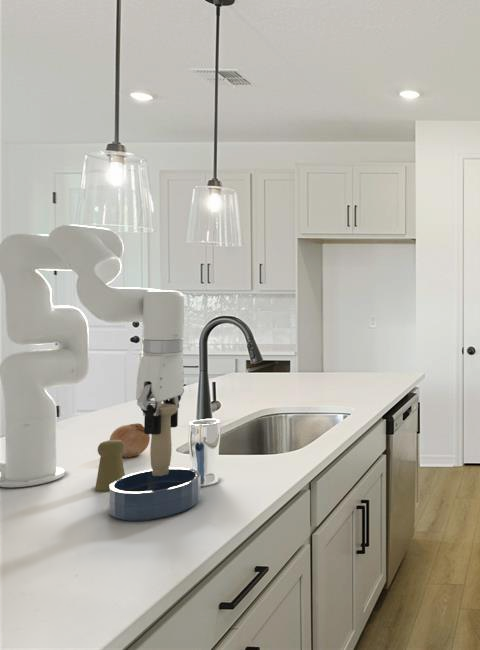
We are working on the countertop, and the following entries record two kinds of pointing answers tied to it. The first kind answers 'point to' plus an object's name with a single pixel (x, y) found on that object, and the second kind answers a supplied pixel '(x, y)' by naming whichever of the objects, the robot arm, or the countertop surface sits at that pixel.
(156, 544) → the countertop surface
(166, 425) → the handle
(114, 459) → the olive tapered shaker
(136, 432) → the onion
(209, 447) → the beer glass
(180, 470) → the bowl
